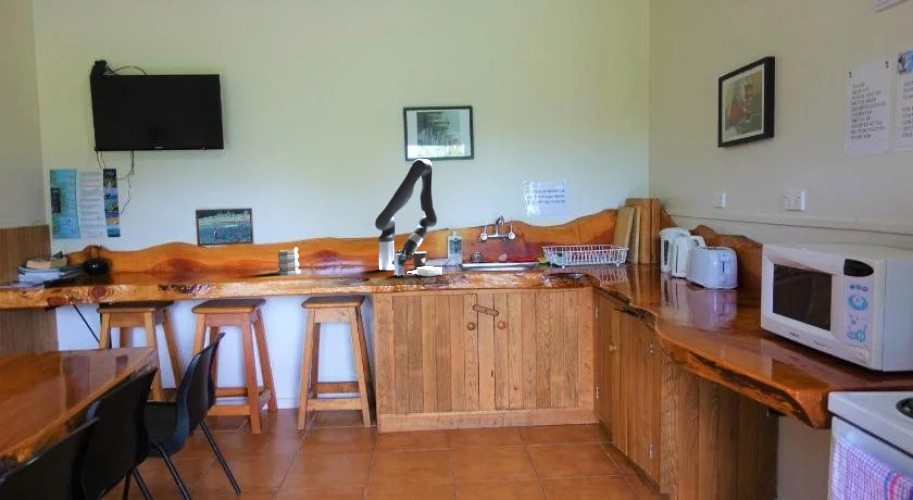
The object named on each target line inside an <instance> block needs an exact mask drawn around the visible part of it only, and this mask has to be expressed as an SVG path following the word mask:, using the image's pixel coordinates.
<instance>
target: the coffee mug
mask: <svg viewBox="0 0 913 500" xmlns="http://www.w3.org/2000/svg"><path fill="white" fill-rule="evenodd" d="M429 258H430V256H429V253H427V252H426V251H415V254H414V256H413V257H412V261H413V262H412V263H413V267H414V270H417V268H419V267H426V264H427V262H428V260H429Z"/></svg>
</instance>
